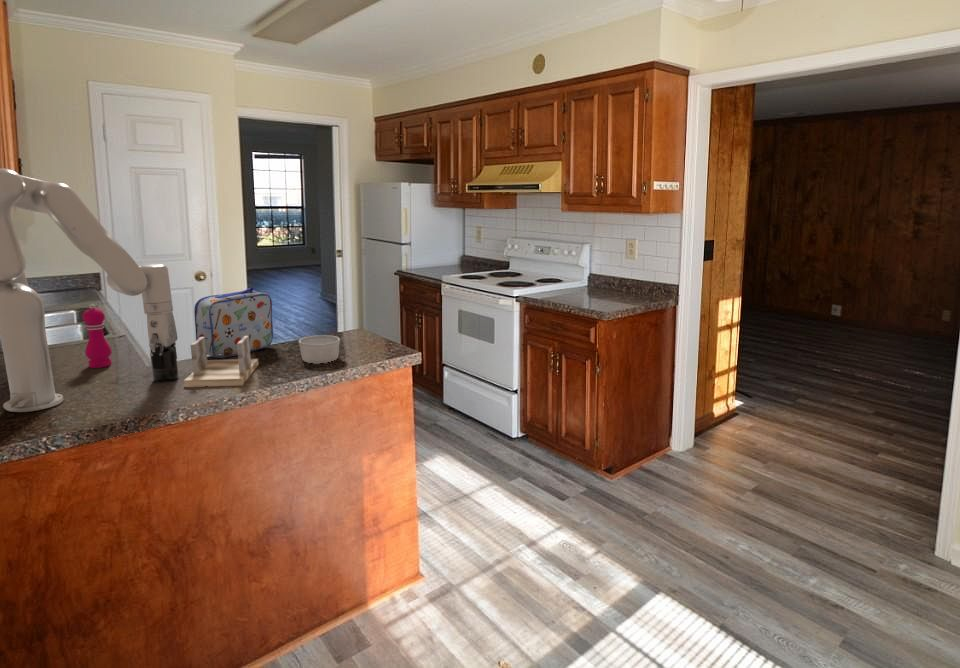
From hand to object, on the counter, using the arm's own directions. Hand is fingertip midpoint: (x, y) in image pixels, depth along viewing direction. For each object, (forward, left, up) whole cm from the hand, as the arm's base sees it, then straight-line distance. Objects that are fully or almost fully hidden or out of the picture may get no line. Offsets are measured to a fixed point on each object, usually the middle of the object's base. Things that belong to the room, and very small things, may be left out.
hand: (165, 363), depth 189 cm
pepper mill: (+18, +26, -5) cm, 32 cm away
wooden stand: (+2, -16, -5) cm, 16 cm away
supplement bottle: (0, 0, -5) cm, 5 cm away
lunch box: (+30, -14, -5) cm, 33 cm away
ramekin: (+17, -43, -5) cm, 46 cm away
